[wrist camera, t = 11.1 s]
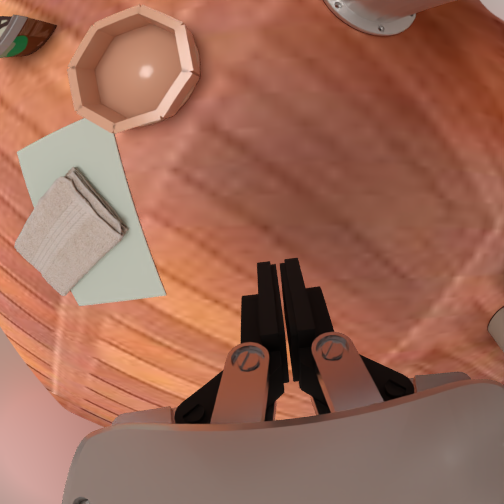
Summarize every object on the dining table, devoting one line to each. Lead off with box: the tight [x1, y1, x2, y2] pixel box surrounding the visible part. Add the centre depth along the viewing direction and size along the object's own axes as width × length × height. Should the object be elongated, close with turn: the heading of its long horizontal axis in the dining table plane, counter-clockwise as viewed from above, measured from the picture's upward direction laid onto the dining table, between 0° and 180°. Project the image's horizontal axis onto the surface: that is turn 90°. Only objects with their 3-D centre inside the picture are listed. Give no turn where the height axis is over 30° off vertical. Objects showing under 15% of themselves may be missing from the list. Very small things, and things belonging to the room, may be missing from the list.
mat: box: [17, 118, 166, 306], centre depth 34 cm, size 26×16×1 cm, turn 10°
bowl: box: [67, 5, 201, 134], centre depth 23 cm, size 13×13×6 cm
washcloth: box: [15, 167, 128, 296], centre depth 33 cm, size 12×18×3 cm, turn 128°
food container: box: [0, 15, 57, 58], centre depth 16 cm, size 12×6×10 cm, turn 63°
